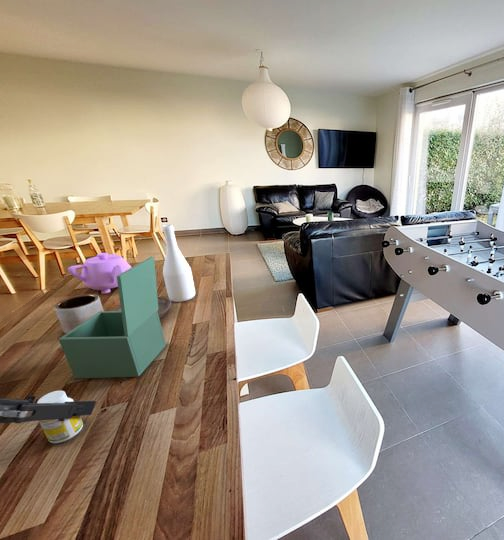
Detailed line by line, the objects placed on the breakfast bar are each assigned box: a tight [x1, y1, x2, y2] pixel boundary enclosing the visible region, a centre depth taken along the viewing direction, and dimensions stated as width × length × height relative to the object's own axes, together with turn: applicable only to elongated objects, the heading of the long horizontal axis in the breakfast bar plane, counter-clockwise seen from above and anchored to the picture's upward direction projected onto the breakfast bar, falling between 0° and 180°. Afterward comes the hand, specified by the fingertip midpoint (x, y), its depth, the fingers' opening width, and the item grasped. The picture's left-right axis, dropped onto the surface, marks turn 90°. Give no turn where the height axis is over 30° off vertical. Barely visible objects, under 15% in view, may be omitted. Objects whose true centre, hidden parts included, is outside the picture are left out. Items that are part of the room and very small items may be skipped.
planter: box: [53, 293, 105, 335], centre depth 94 cm, size 11×11×10 cm
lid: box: [117, 256, 159, 337], centre depth 75 cm, size 17×14×1 cm
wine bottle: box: [161, 224, 196, 303], centre depth 112 cm, size 10×10×30 cm
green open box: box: [58, 310, 167, 379], centre depth 79 cm, size 16×14×12 cm
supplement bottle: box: [37, 390, 84, 444], centre depth 59 cm, size 5×5×10 cm
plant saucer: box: [112, 296, 172, 319], centre depth 103 cm, size 18×18×3 cm
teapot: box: [67, 252, 133, 294], centre depth 119 cm, size 20×20×15 cm
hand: (78, 406), depth 63 cm, fingers closed on supplement bottle, 5 cm apart
